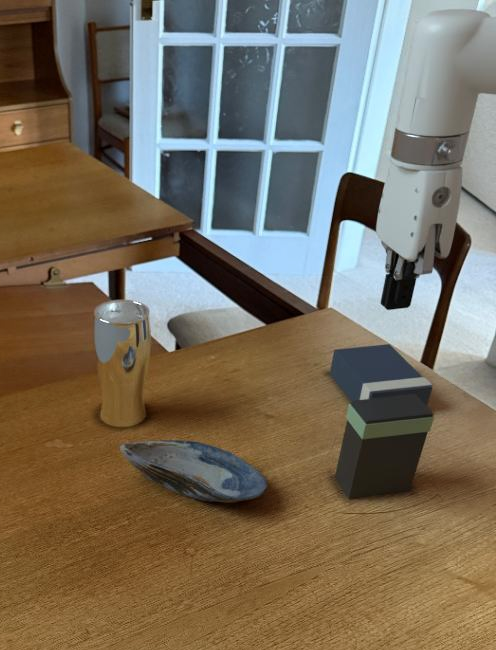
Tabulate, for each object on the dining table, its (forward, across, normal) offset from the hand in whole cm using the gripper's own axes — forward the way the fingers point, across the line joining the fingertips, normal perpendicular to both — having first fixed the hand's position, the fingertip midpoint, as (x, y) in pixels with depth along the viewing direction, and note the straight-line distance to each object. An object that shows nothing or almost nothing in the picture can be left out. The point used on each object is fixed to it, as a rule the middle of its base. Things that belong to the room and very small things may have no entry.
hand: (394, 305), depth 92 cm
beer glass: (+12, 0, +35) cm, 37 cm away
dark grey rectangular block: (+12, -20, +10) cm, 25 cm away
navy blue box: (+10, +5, +1) cm, 11 cm away
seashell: (+12, -17, +30) cm, 36 cm away
